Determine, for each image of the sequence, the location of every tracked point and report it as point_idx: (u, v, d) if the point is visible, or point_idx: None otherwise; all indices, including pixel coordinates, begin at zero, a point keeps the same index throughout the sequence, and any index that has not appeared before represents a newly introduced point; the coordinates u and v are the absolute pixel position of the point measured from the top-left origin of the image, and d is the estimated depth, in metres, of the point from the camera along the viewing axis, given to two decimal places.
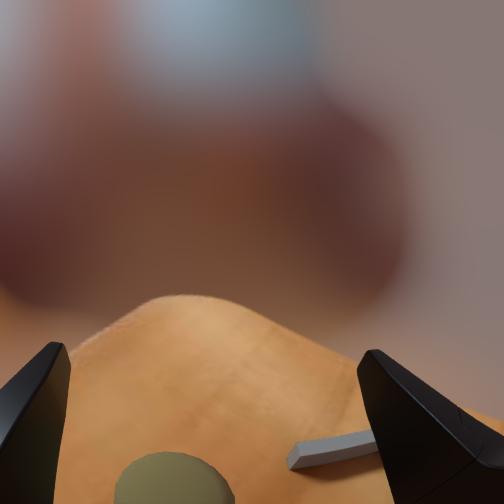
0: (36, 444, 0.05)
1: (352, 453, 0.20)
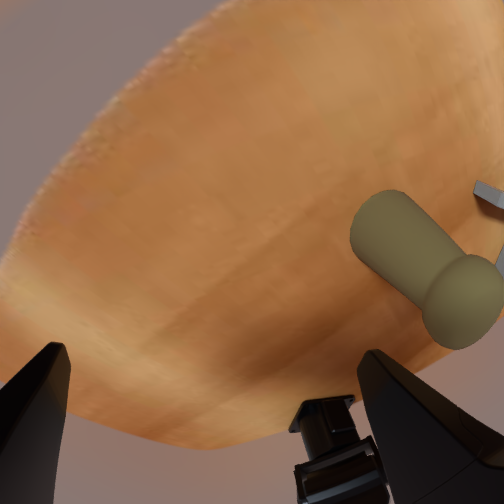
0: (36, 444, 0.05)
1: None
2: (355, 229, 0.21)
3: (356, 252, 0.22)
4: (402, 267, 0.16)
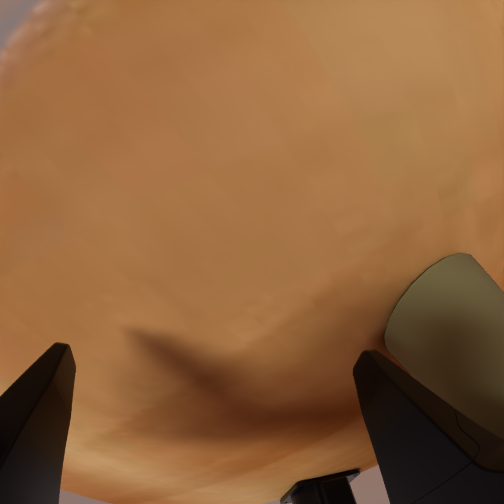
0: (42, 445, 0.05)
1: None
2: (397, 323, 0.11)
3: (392, 352, 0.12)
4: (479, 413, 0.07)
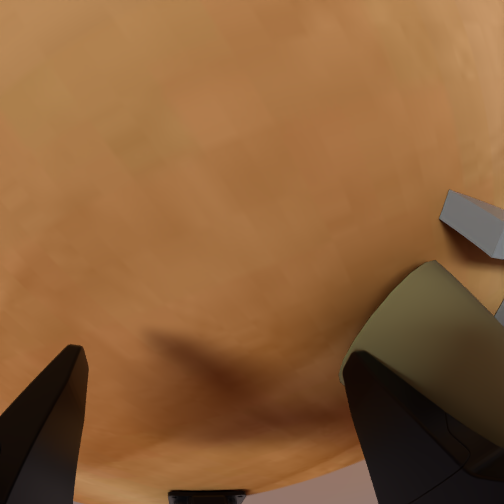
0: (57, 449, 0.05)
1: None
2: None
3: None
4: None
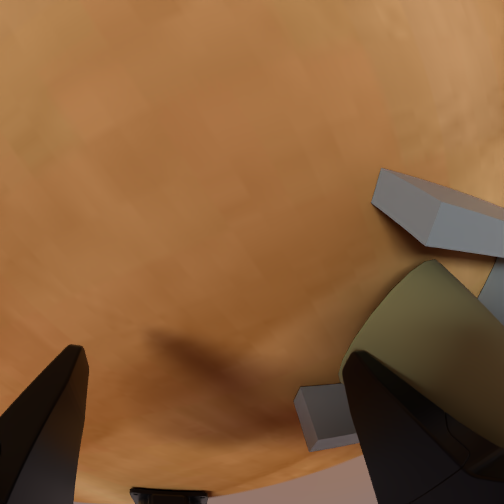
0: (58, 449, 0.05)
1: None
2: None
3: None
4: None
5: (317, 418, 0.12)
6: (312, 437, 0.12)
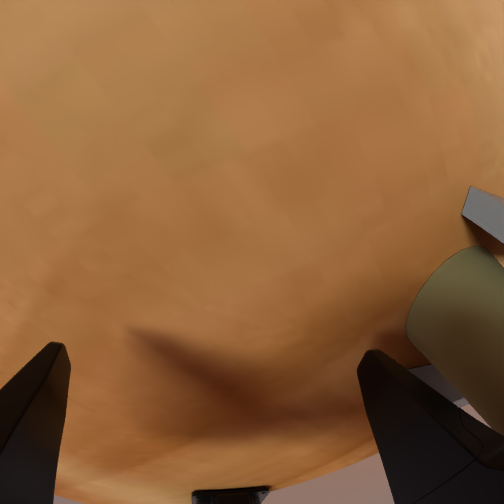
0: (36, 444, 0.05)
1: None
2: (418, 313, 0.12)
3: (413, 341, 0.13)
4: (496, 395, 0.08)
5: None
6: None
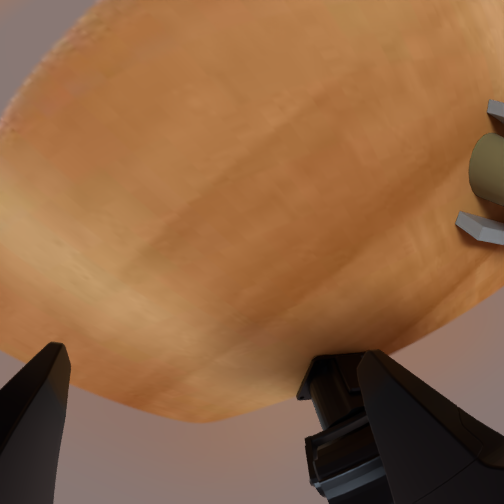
0: (36, 444, 0.05)
1: None
2: (475, 160, 0.19)
3: (474, 182, 0.20)
4: None
5: (475, 221, 0.21)
6: (477, 229, 0.20)
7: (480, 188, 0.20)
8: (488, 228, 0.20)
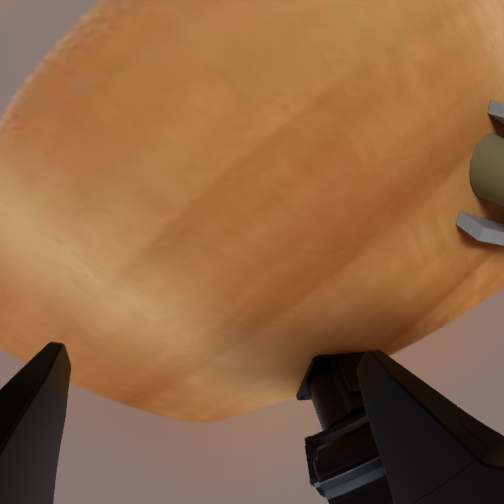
0: (36, 444, 0.05)
1: None
2: (475, 161, 0.19)
3: (474, 183, 0.20)
4: None
5: (476, 221, 0.21)
6: (478, 230, 0.20)
7: (481, 189, 0.20)
8: (488, 229, 0.20)
